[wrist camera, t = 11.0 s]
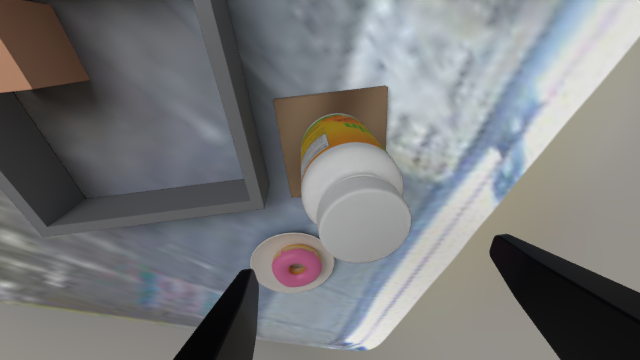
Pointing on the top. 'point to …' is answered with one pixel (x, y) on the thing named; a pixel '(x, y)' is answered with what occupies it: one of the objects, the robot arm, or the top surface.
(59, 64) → the terracotta cube
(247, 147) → the bin rim
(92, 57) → the top surface
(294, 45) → the top surface
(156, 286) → the top surface
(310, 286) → the donut
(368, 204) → the supplement bottle
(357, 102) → the walnut coaster
